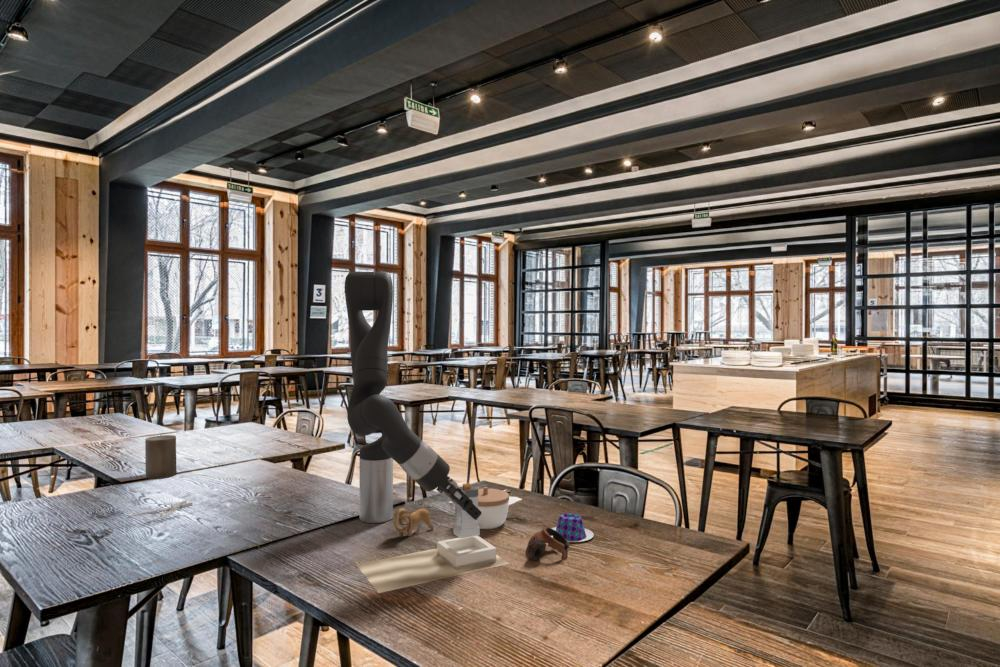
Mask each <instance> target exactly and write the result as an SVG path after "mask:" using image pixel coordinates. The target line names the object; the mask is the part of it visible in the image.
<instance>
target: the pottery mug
mask: <svg viewBox="0 0 1000 667" xmlns="http://www.w3.org/2000/svg"><path fill="white" fill-rule="evenodd" d="M551 528H552V527H551ZM551 528H550V527H548V526H544V527H543V528H542V529H541V530H539V531H537V532H535V533H534V534H532V535H531V537H530V538H529V540H528V544H527V547H526V549H525V554H526V556H528V558H529V559H531V560H532V561H540V560H541V557H542V556H543V555H544V552H545V551H546V547H548V548H551V549H552V550H555V551H557V553H561V558H560V559H561V560H564V559H568V554H569V553H568V549H569V548H570V542H568V541H567V540H566V539H565V538H564V537H563V536H562V535H561V534H559V533H558V532H557V531H555V530H553V529H551ZM551 536H553V537H551Z"/></svg>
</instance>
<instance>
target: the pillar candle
mask: <svg viewBox="0 0 1000 667" xmlns="http://www.w3.org/2000/svg"><path fill="white" fill-rule="evenodd" d="M176 436H177V435H173V434H167V435H162V433H160V435H155V436H151V437H150V436H149V437H146V438H145V441H144V442H145V447H144V448H145V457H144V458H145V463H144V464H145V478H146V479H151V480H152V479H153V480H154V479H157V480H158V479H166V478H170V477H174V476H176V475H177V471H178V470H177V468H178V467H177V437H176Z"/></svg>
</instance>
